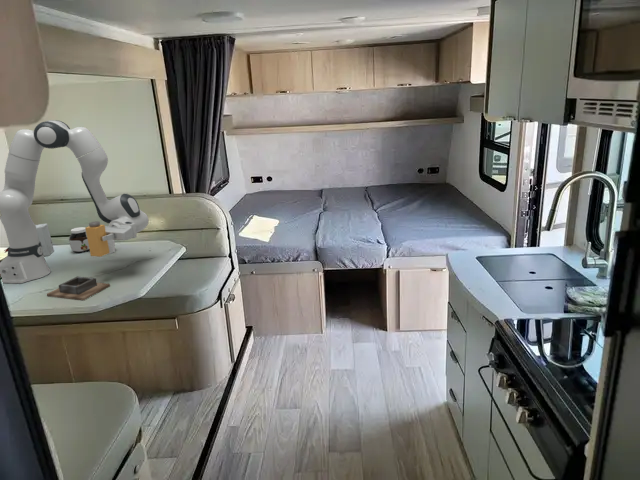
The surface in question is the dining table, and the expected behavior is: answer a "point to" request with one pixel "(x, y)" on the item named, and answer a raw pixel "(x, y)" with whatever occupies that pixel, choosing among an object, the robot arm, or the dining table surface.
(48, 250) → the skincare box
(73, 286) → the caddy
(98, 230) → the cap
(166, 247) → the dining table surface
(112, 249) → the white cup
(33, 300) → the dining table surface
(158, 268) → the dining table surface
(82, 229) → the spread jar
